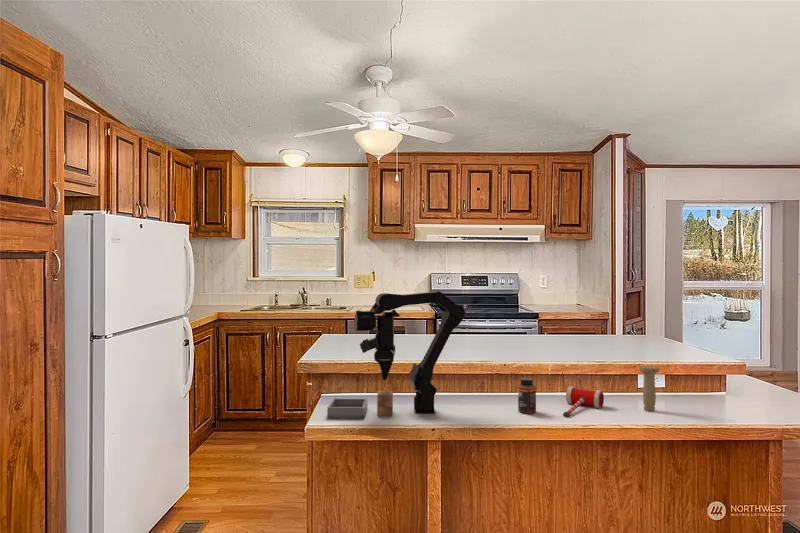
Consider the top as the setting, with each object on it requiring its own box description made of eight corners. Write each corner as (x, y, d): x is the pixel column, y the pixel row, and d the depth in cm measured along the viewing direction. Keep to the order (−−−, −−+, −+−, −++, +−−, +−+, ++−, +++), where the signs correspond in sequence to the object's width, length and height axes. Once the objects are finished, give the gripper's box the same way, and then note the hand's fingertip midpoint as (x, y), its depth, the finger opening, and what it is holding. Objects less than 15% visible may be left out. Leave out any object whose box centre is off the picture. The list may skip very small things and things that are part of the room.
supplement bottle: (537, 411, 171) (537, 378, 171) (533, 415, 166) (533, 381, 166) (520, 408, 174) (520, 376, 174) (516, 412, 169) (516, 379, 169)
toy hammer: (583, 421, 160) (583, 401, 160) (548, 415, 167) (548, 396, 167) (604, 407, 178) (604, 389, 178) (571, 402, 185) (571, 384, 185)
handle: (636, 409, 174) (636, 366, 174) (653, 408, 175) (652, 365, 175) (645, 412, 169) (645, 368, 169) (662, 412, 170) (662, 368, 170)
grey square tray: (367, 408, 173) (367, 398, 173) (364, 418, 161) (364, 407, 161) (333, 408, 173) (333, 398, 173) (327, 418, 161) (327, 407, 161)
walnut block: (392, 411, 169) (392, 391, 169) (392, 416, 164) (392, 394, 164) (378, 411, 169) (378, 391, 169) (377, 416, 164) (377, 394, 164)
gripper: (364, 327, 177) (364, 371, 177) (358, 333, 158) (358, 382, 158) (395, 327, 177) (395, 371, 176) (393, 333, 158) (393, 382, 158)
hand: (385, 376), depth 167 cm, fingers open, 9 cm apart
